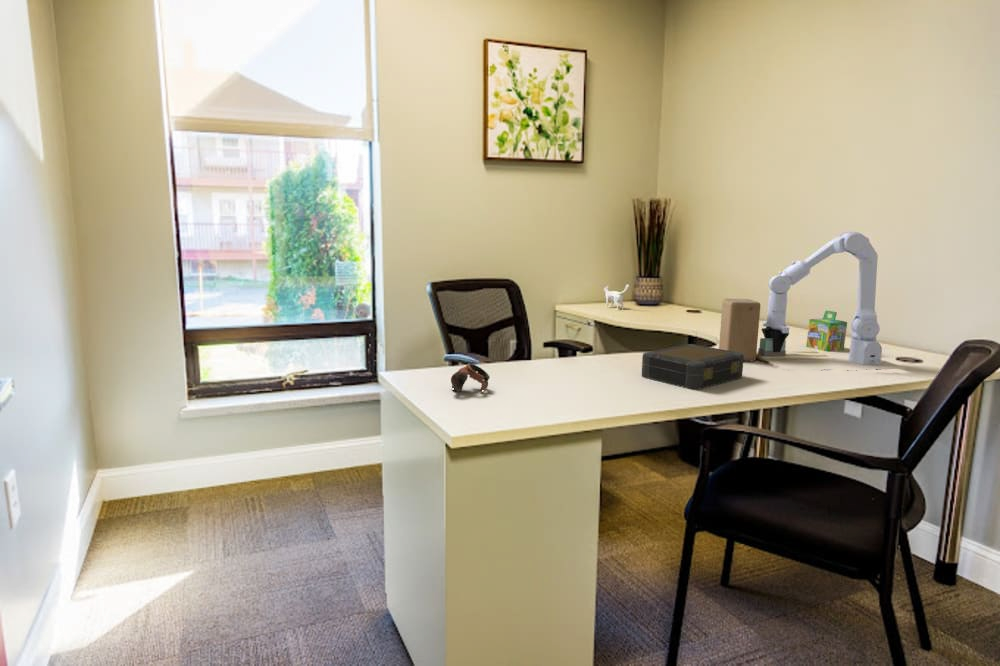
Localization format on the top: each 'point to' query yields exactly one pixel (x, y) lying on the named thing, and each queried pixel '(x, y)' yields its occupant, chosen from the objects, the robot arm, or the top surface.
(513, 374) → the top surface
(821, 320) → the chalk box
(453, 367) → the top surface
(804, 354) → the board
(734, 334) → the wooden block
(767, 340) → the sanding block
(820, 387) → the top surface
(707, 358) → the cash box
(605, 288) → the cat figurine
